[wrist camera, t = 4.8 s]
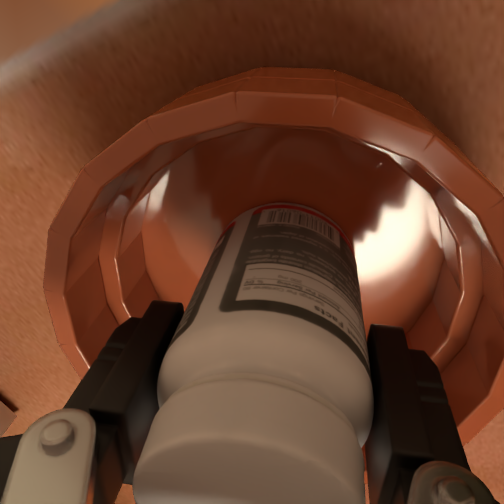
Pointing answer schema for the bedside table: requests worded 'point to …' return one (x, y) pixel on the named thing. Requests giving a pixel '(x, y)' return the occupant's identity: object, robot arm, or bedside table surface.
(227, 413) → the pill bottle
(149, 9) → the bedside table surface
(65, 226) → the bowl
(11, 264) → the bedside table surface
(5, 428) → the usb drive
